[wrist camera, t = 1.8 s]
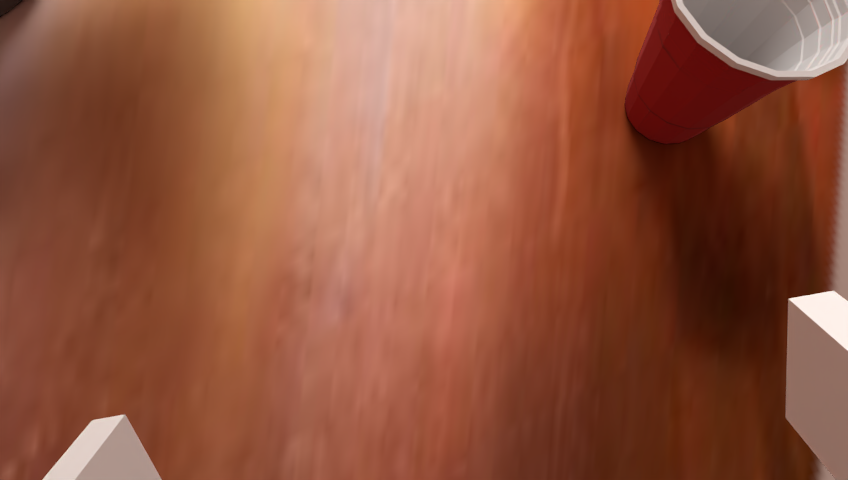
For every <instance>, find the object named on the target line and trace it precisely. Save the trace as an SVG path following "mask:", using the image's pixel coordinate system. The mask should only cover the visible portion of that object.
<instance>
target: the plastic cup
mask: <svg viewBox="0 0 848 480" xmlns="http://www.w3.org/2000/svg"><path fill="white" fill-rule="evenodd" d="M847 59H848V0H660V2H659V5H658V8H657V10H656V13H655V16H654V18H653V21H652V23H651V26H650V28H649V31H648V33H647V36H646V38H645V41H644V43H643V46H642V48H641V51H640V53H639V56H638V59H637V62H636V67H635V70H634V73H633V75H632V78H631V80H630V83H629V85H628V89H627V94H626V98H625V109H626V113H627V117H628V119H629V121H630V122H631V124H632V125H633V126H634V128H635V129H636V130H637V131H638V132H639V133H641V134H642V135H644V136H645V137H646V138H648V139H649V140H653V141H656V142H660V143H663V144H672V143H681V142H683V141H686V140H688V139H690V138H692V137H694V136H697V135H699V134H700V133H702V132H703V131H705V130H707V129H708V128H710V127H712V126H714V125H716V124H718V123H720V122H722V121H724V120H726V119H727V118H729V117H731V116H732V115H734V114H736V113H738V112H739V111H741V110H743V109H744V108H746V107H748V106H749V105H751V104H753V103H754V102H756V101H758V100H760V99H761V98H763V97H765V96H766V95H768V94H770V93H771V92H773V91H775V90H777V89H779V88H781V87H783V86H785V85H788V84H790V83H792V82H795V81H797V80H809V79H811V78H814V77H816V76H818V75H820V74H823V73H825V72H827V71H829V70H831V69H833V68H835V67H838V66H840V65H842V64H844V63H845V62H846V60H847Z"/></svg>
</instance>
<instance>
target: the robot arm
mask: <svg viewBox="0 0 848 480" xmlns="http://www.w3.org/2000/svg"><path fill="white" fill-rule="evenodd" d="M21 1H22V0H0V16H1V15H3V14H4V13H6V12H7V11H9V10H10V9H12V8H13V7H14V6H16V5H17V4H18V3H19V2H21ZM786 419H787V420H788V421H789V423H790V424H791V425H792V426H793V427H794V429H795V430H796V431H797V432H798V434H799V435H800V436H801V437H802V439H803V440H804V441H805V442H806V444H807V445H808V446H809V447H810V448H811V450H812V451H813V452H814V453H815V455H816V456H817V457H818V458H819V460H820V461H821V462H822V463H823V464H824V466H825V467H826V468H827V469H828V471H829V472H830V473H831V474H832V476H833V477H834V478H835V479H836V480H848V301H847V300H845V299H844V298H843V297H841V296H840V295H839V294H837V293H836V292H835V291H830V292H824V293H818V294H812V295H807V296H801V297H795V298H789V299H788V333H787V377H786ZM42 480H162V479H161V478H160V476H159V474H158V472H157V470H156V469H155V467H154V465H153V463H152V461H151V460H150V458H149V456H148V454H147V452H146V451H145V449H144V447H143V445H142V444H141V442H140V440H139V438H138V436H137V435H136V433H135V431H134V429H133V427H132V426H131V424H130V422H129V420H128V418H127V417H126V415H119V416H113V417H107V418H102V419H96V420H92V421H91V422H90V423H89V425H88V426H87V427H86V428H85V429H84V431H83V432H82V433H81V434H80V435H79V436H78V438H77V439H76V440H75V441H74V442H73V444H72V445H71V446H70V447H69V448H68V450H67V451H66V452H65V453H64V454H63V456H62V457H61V458H60V459H59V460H58V462H57V463H56V464H55V465H54V466H53V468H52V469H51V470H50V471H49V472H48V473H47V475H46V476H45V477H44V478H43V479H42Z"/></svg>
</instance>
